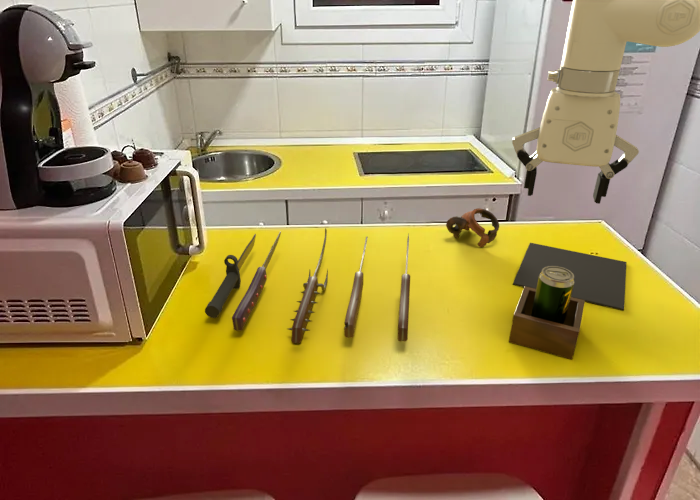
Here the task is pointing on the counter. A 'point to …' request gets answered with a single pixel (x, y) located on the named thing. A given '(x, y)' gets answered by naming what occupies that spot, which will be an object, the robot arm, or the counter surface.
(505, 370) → the counter surface
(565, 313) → the beer can
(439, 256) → the counter surface
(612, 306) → the mat
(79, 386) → the counter surface
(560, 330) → the box
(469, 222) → the brown curved piece
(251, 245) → the knife set
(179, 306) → the counter surface
